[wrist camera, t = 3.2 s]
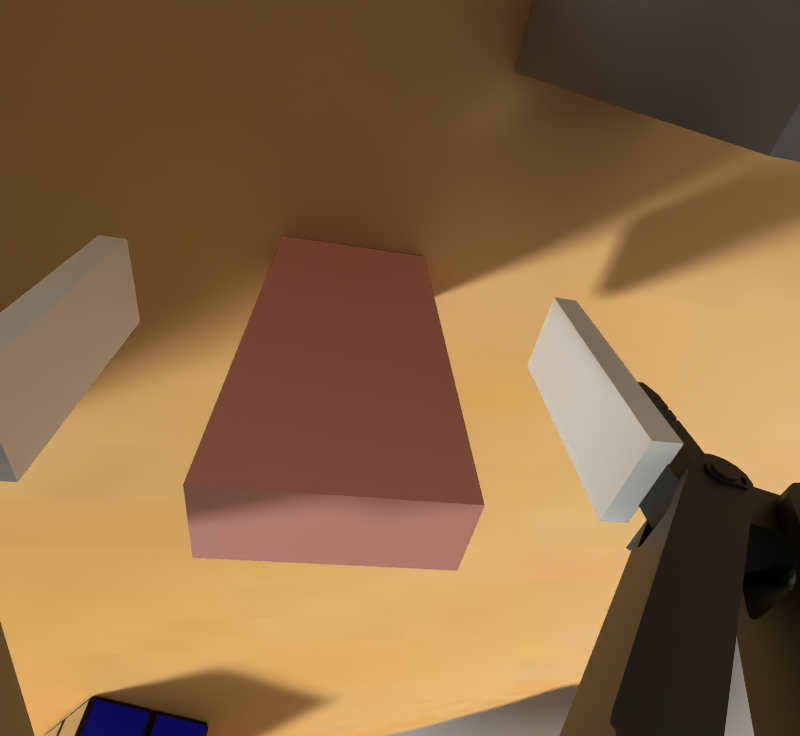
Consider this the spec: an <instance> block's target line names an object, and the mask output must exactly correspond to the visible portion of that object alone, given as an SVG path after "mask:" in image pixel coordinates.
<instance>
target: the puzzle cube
mask: <svg viewBox="0 0 800 736" xmlns="http://www.w3.org/2000/svg"><path fill="white" fill-rule="evenodd" d="M207 731H208V726H207V723H205V722H201V721H197V720H193V719H188V718H184V717H180V716H176V715H171V714H167V713H163V712H159V711H156V712H155V713H153V714H152V713H151V710H150V709H146V708H142V707H138V706H133V705H129V704H125V703H121V702H116V701H112V700H108V699H104V698H99V697H93V698H91V699H89V700H88V701H87V702H86V703H85V704H83V705H82V706H81V707H80V708H78V709H77V710H76V711H75V712H73V713H72V714H71V715H70V716H69V717H67V718H66V719H65V720H63V721H62V722H61V723H60V724H58V725H57V726H56V727H55V728H53V729H52V730H51V731H50V732H49V733H47V734H46V735H45V736H206V735H207Z"/></svg>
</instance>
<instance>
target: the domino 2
mask: <svg viewBox="0 0 800 736" xmlns="http://www.w3.org/2000/svg"><path fill="white" fill-rule="evenodd" d="M515 72H517V73H520V74H523V75H526V76H529V77H532V78H535V79H538V80H541V81H544V82H547V83H550V84H553V85H556V86H559V87H562V88H565V89H569V90H572V91H575V92H578V93H581V94H584V95H587V96H590V97H593V98H596V99H599V100H602V101H605V102H608V103H611V104H614V105H617V106H620V107H623V108H626V109H629V110H632V111H635V112H638V113H641V114H644V115H647V116H650V117H653V118H656V119H659V120H663V121H666V122H669V123H672V124H675V125H678V126H681V127H684V128H687V129H690V130H693V131H696V132H699V133H702V134H705V135H708V136H711V137H714V138H717V139H720V140H723V141H726V142H729V143H732V144H735V145H738V146H741V147H744V148H747V149H750V150H754V151H757V152H760V153H763V154H766V155H769V156H774V157H779V158H784V159H789V160H794V161H799V162H800V0H534V1H533V5H532V9H531V13H530V17H529V20H528V24H527V28H526V32H525V35H524V39H523V43H522V47H521V50H520V54H519V58H518V62H517V66H516V69H515Z"/></svg>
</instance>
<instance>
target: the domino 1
mask: <svg viewBox="0 0 800 736" xmlns="http://www.w3.org/2000/svg"><path fill="white" fill-rule="evenodd" d="M183 486H184V494H185V502H186V510H187V517H188V525H189V533H190V541H191V548H192V556H193V558H210V559H231V560H252V561H272V562H293V563H314V564H334V565H355V566H376V567H396V568H417V569H438V570H458V567H459V565H460V563H461V560H462V558H463V555H464V553H465V551H466V548H467V546H468V544H469V541H470V539H471V536H472V534H473V532H474V529H475V527H476V525H477V522H478V520H479V517H480V515H481V513H482V510H483V508H484V506H485V505H484V501H483V497H482V493H481V489H480V485H479V480H478V476H477V472H476V468H475V464H474V460H473V456H472V452H471V447H470V443H469V439H468V435H467V431H466V427H465V423H464V419H463V414H462V410H461V406H460V402H459V398H458V394H457V390H456V386H455V381H454V377H453V373H452V369H451V365H450V361H449V357H448V353H447V348H446V344H445V340H444V336H443V332H442V328H441V324H440V319H439V315H438V311H437V307H436V303H435V299H434V295H433V291H432V286H431V282H430V278H429V274H428V270H427V266H426V262H425V258H424V256H419V255H412V254H405V253H398V252H391V251H384V250H377V249H370V248H363V247H356V246H349V245H342V244H335V243H328V242H321V241H314V240H308V239H301V238H294V237H287V236H282V239H281V241H280V244H279V246H278V249H277V251H276V254H275V256H274V259H273V261H272V264H271V266H270V269H269V271H268V274H267V276H266V279H265V281H264V284H263V286H262V289H261V291H260V294H259V296H258V299H257V301H256V304H255V306H254V309H253V311H252V314H251V316H250V319H249V321H248V324H247V326H246V329H245V331H244V334H243V336H242V339H241V341H240V344H239V346H238V349H237V351H236V354H235V356H234V359H233V361H232V364H231V366H230V369H229V371H228V374H227V376H226V379H225V381H224V384H223V386H222V389H221V391H220V394H219V396H218V399H217V401H216V404H215V406H214V409H213V412H212V414H211V417H210V419H209V422H208V424H207V427H206V429H205V432H204V434H203V437H202V439H201V442H200V444H199V447H198V449H197V452H196V454H195V457H194V459H193V462H192V464H191V467H190V469H189V472H188V474H187V477H186V479H185V482H184V484H183Z"/></svg>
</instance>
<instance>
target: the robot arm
mask: <svg viewBox="0 0 800 736" xmlns="http://www.w3.org/2000/svg"><path fill="white" fill-rule="evenodd" d="M139 322H140V317H139V311H138V304H137V298H136V292H135V286H134V279H133V273H132V267H131V260H130V254H129V248H128V241H127V239H123V238H115V237H108V236H101V235H98V236H97V237H96V238H94V239H93V240H92V241H91V242H89V243H88V244H87V245H85V246H84V247H83V248H82V249H80V250H79V251H78V252H77V253H75V254H74V255H73V256H71V257H70V258H69V259H68V260H66V261H65V262H64V263H63V264H61V265H60V266H59V267H57V268H56V269H55V270H54V271H52V272H51V273H50V274H49V275H47V276H46V277H45V278H43V279H42V280H41V281H40V282H38V283H37V284H36V285H35V286H33V287H32V288H31V289H30V290H28V291H27V292H26V293H24V294H23V295H22V296H21V297H19V298H18V299H17V300H16V301H14V302H13V303H12V304H10V305H9V306H8V307H7V308H5V309H4V310H3V311H0V481H11V482H18V481H19V480H20V478H21V477H22V476H23V474H24V473H25V472H26V470H27V469H28V468H29V466H30V465H31V464H32V462H33V461H34V460H35V459H36V457H37V456H38V455H39V453H40V452H41V451H42V449H43V448H44V447H45V445H46V444H47V443H48V442H49V440H50V439H51V438H52V436H53V435H54V434H55V432H56V431H57V430H58V428H59V427H60V426H61V425H62V423H63V422H64V421H65V419H66V418H67V417H68V415H69V414H70V413H71V411H72V410H73V409H74V408H75V406H76V405H77V404H78V402H79V401H80V400H81V398H82V397H83V396H84V394H85V393H86V392H87V390H88V389H89V388H90V387H91V385H92V384H93V383H94V381H95V380H96V379H97V377H98V376H99V375H100V373H101V372H102V371H103V370H104V368H105V367H106V366H107V364H108V363H109V362H110V360H111V359H112V358H113V356H114V355H115V354H116V353H117V351H118V350H119V349H120V347H121V346H122V345H123V343H124V342H125V341H126V339H127V338H128V337H129V335H130V334H131V333H132V332H133V330H134V329H135V328H136V326H137V325H138V324H139ZM527 366H528V368H529V370H530V373H531V375H532V377H533V379H534V381H535V383H536V385H537V388H538V390H539V392H540V394H541V396H542V398H543V400H544V403H545V405H546V407H547V409H548V411H549V413H550V415H551V418H552V420H553V422H554V424H555V426H556V428H557V430H558V433H559V435H560V437H561V439H562V441H563V443H564V446H565V448H566V450H567V452H568V454H569V456H570V458H571V461H572V463H573V465H574V467H575V469H576V471H577V473H578V476H579V478H580V480H581V482H582V484H583V486H584V488H585V491H586V493H587V495H588V497H589V499H590V501H591V503H592V506H593V508H594V510H595V512H596V514H597V516H598V519H599V521H608V522H623V523H628V522H629V521H630V519H631V518H632V516H633V515H634V514H635V512H636V511H637V509H638V508H639V507H640V508H641V510H642V512H643V514H644V515H645V517H646V519H647V520H646V522H645V523H644V524H643V526H642V527H641V528H640V530H639V531H638V532H637V534H636V535H635V537H634V538H633V539H632V541H631V542H630V543H629V545H628V546H627V547H626V548H627V549H629V550H630V551H631V550H632V551H631V553H630V556H629V559H628V561H627V564H626V566H625V569H624V571H623V574H622V577H621V579H620V582H619V584H618V587H617V589H616V592H615V595H614V597H613V600H612V602H611V605H610V607H609V610H608V613H607V615H606V618H605V620H604V623H603V625H602V628H601V631H600V633H599V636H598V638H597V641H596V643H595V646H594V649H593V651H592V654H591V656H590V659H589V661H588V664H587V667H586V669H585V672H584V674H583V677H582V680H581V682H580V685H579V687H578V690H577V692H576V695H575V698H574V700H573V703H572V706H571V708H570V710H569V713H568V716H567V718H566V721H565V723H564V726H563V729H562V731H561V734H560V736H724V732H725V723H726V716H727V708H728V700H729V691H730V684H731V675H732V667H733V659H734V651H735V643H736V635H737V640H738V646H739V651H740V657H741V662H742V668H743V674H744V680H745V685H746V691H747V697H748V702H749V708H750V713H751V719H752V724H753V730H754V736H800V483H793V484H792V485H790V486H789V487H788V488H787V489H786V490H785V491H784V492H783V493H782V494H781V495H777V494H774V493H771V492H768V491H765V490H762V489H758V488H755V487H753V483H752V482H751V481H750V479H749V478H748V476H747V475H746V474H745V473H744V472H742V471H741V470H740V469H739V468H738V467H737V466H735V465H733V464H732V463H730V462H729V461H727V460H725V459H723V458H720V457H718V456H715V455H711V454H705V453H704V452H703V451H702V450H701V449H700V447H699V446H698V445H697V443H696V442H695V441H694V440H693V438H692V437H691V436H690V434H689V433H688V432H687V431H686V429H685V428H684V427H683V426H682V424H681V423H680V422H679V421H677V420H676V419H677V418H676V417H675V415H674V414H673V413H672V411H671V410H668V406H667V405H666V404H665V403H664V401H663V400H662V399H661V397H660V396H659V395H658V394H657V393H656V392H654V391H653V390H652V389H650V388H649V387H648V386H647V385H645V384H644V383H642V382H637V381H636V380H635V378H634V377H633V376H632V374H631V373H630V372H629V370H628V369H627V368H626V366H625V365H624V364H623V362H622V361H621V360H620V358H619V357H618V356H617V354H616V353H615V352H614V350H613V349H612V348H611V346H610V345H609V344H608V342H607V341H606V340H605V338H604V337H603V336H602V334H601V333H600V332H599V330H598V329H597V328H596V326H595V325H594V324H593V322H592V321H591V320H590V318H589V317H588V316H587V314H586V313H585V312H584V310H583V309H582V308H581V306H580V305H579V304H578V302H577V301H575V300H568V299H560V298H554V300H553V303H552V305H551V308H550V310H549V313H548V315H547V318H546V320H545V323H544V325H543V328H542V330H541V333H540V335H539V338H538V340H537V343H536V345H535V348H534V350H533V353H532V355H531V358H530V360H529V363H528V365H527ZM0 736H34V732H33V729H32V726H31V722H30V719H29V716H28V713H27V709H26V706H25V703H24V699H23V696H22V693H21V689H20V686H19V683H18V679H17V676H16V673H15V669H14V666H13V663H12V659H11V656H10V653H9V649H8V646H7V643H6V639H5V636H4V633H3V629H2V626H1V623H0Z"/></svg>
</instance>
